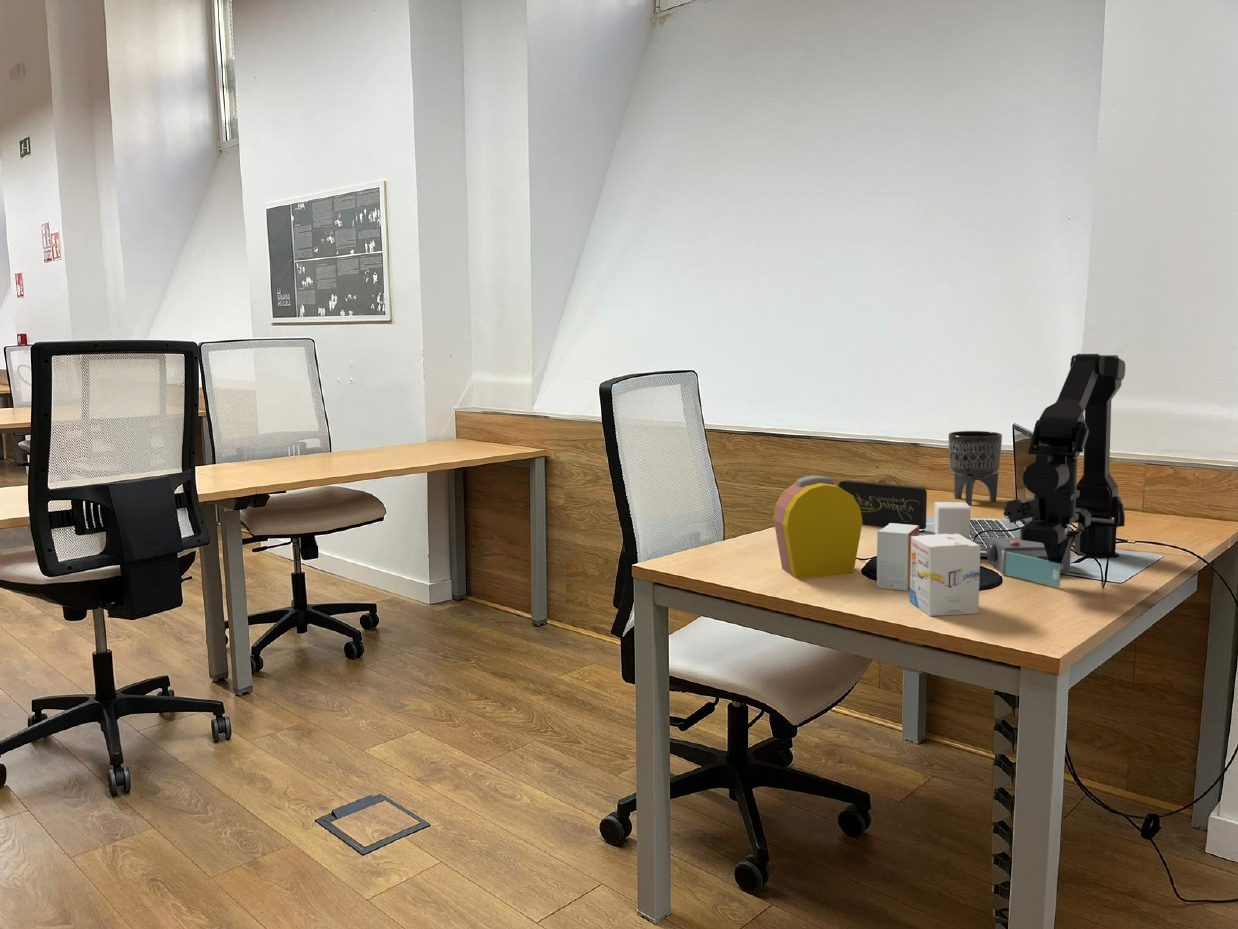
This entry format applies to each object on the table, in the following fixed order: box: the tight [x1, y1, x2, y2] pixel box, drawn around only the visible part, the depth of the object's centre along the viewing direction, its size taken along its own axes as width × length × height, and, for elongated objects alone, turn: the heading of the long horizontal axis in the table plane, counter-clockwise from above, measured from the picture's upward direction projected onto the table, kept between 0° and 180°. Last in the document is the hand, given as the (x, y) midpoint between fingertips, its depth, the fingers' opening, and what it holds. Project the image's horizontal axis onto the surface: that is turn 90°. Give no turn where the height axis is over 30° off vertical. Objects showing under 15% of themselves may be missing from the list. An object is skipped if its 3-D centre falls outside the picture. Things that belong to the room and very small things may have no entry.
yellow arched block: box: [772, 474, 863, 580], centre depth 177 cm, size 15×8×18 cm, turn 100°
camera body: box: [985, 537, 1072, 574], centre depth 175 cm, size 13×8×6 cm, turn 87°
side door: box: [1000, 550, 1061, 588], centre depth 166 cm, size 12×1×4 cm, turn 31°
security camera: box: [933, 501, 972, 539], centre depth 188 cm, size 6×7×10 cm
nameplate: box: [837, 479, 928, 530], centre depth 214 cm, size 21×2×10 cm, turn 49°
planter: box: [948, 430, 1003, 506], centre depth 239 cm, size 13×13×18 cm
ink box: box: [909, 533, 981, 617], centre depth 152 cm, size 9×8×12 cm
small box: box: [876, 523, 920, 592], centre depth 167 cm, size 8×6×10 cm
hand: (1054, 571), depth 164 cm, fingers closed
